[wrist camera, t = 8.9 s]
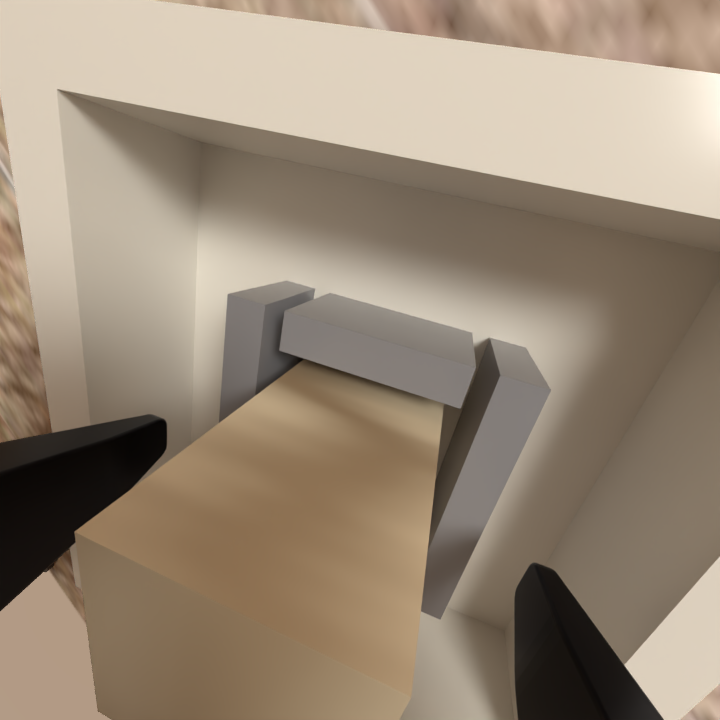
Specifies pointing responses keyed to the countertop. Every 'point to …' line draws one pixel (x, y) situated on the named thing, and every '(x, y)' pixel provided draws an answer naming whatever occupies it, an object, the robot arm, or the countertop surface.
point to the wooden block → (270, 561)
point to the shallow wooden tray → (402, 290)
